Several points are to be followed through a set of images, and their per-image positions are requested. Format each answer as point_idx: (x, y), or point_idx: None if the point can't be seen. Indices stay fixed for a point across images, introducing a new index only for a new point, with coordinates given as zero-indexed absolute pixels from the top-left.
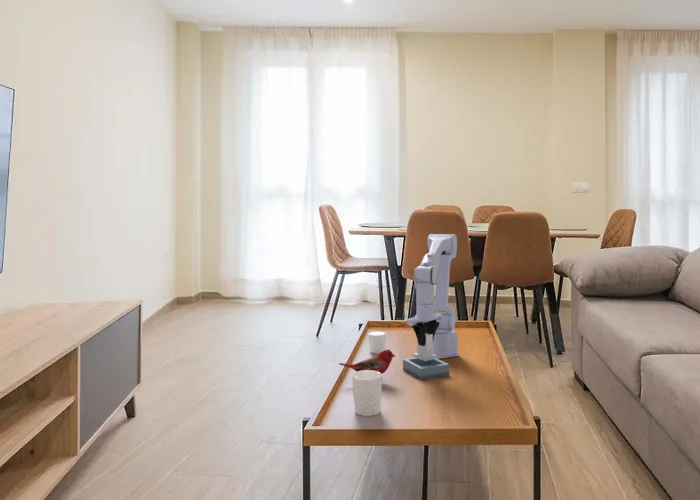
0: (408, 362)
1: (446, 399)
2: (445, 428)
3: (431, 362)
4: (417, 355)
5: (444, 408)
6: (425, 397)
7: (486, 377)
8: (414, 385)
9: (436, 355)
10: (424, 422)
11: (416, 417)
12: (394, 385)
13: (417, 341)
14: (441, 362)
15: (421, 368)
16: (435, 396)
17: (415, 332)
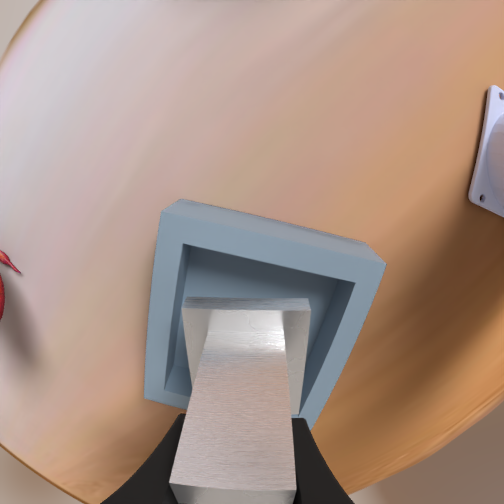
0: (152, 284)
1: (133, 472)
2: (69, 492)
3: (337, 300)
4: (187, 352)
5: (102, 480)
6: (90, 440)
7: (372, 454)
8: (103, 380)
9: (296, 413)
10: (46, 469)
11: (38, 456)
12: (43, 332)
13: (188, 408)
14: (308, 400)
15: (148, 397)
16: (118, 453)
17: (113, 500)
